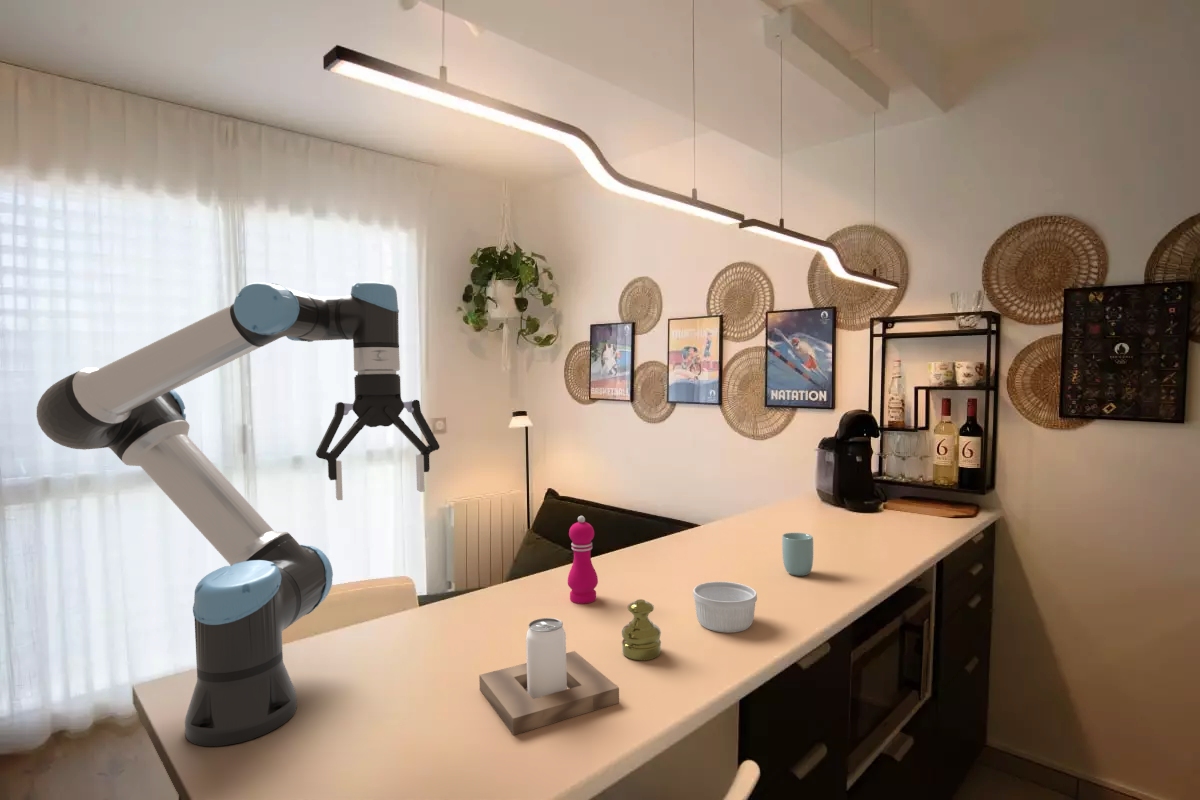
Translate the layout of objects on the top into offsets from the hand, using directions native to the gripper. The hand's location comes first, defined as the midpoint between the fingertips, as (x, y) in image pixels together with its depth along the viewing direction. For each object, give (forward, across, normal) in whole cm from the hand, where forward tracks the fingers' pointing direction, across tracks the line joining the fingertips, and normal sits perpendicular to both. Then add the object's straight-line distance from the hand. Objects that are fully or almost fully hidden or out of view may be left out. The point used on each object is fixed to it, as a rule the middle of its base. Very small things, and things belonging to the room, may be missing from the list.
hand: (381, 494), depth 109 cm
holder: (+33, +22, -20) cm, 44 cm away
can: (+33, +22, -20) cm, 44 cm away
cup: (+33, +105, +5) cm, 110 cm away
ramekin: (+33, +67, -11) cm, 75 cm away
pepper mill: (+33, +48, +18) cm, 61 cm away
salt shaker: (+33, +44, -14) cm, 57 cm away
